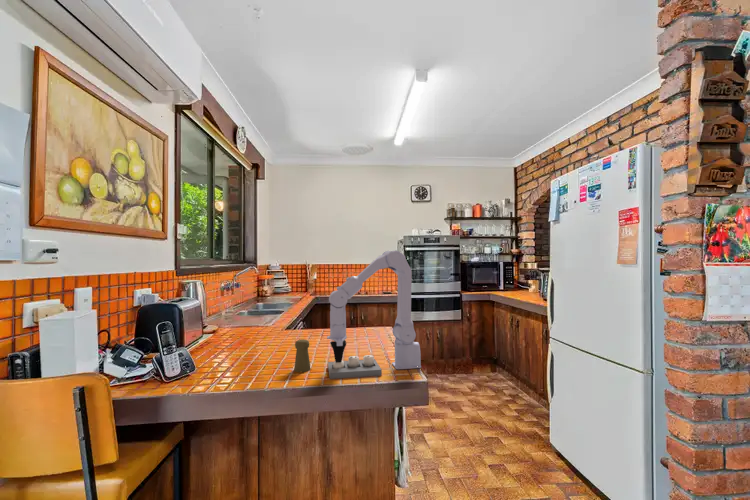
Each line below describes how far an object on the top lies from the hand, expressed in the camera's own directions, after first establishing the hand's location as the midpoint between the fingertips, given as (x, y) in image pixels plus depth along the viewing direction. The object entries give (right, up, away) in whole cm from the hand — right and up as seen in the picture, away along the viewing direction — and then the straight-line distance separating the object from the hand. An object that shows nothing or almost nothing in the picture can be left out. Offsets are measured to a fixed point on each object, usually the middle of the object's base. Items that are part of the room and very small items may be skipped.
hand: (338, 361), depth 133 cm
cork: (-14, -4, +4) cm, 15 cm away
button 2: (+5, -2, +1) cm, 6 cm away
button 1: (+11, -2, +2) cm, 11 cm away
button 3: (0, -3, 0) cm, 3 cm away
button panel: (+5, -4, +1) cm, 7 cm away
